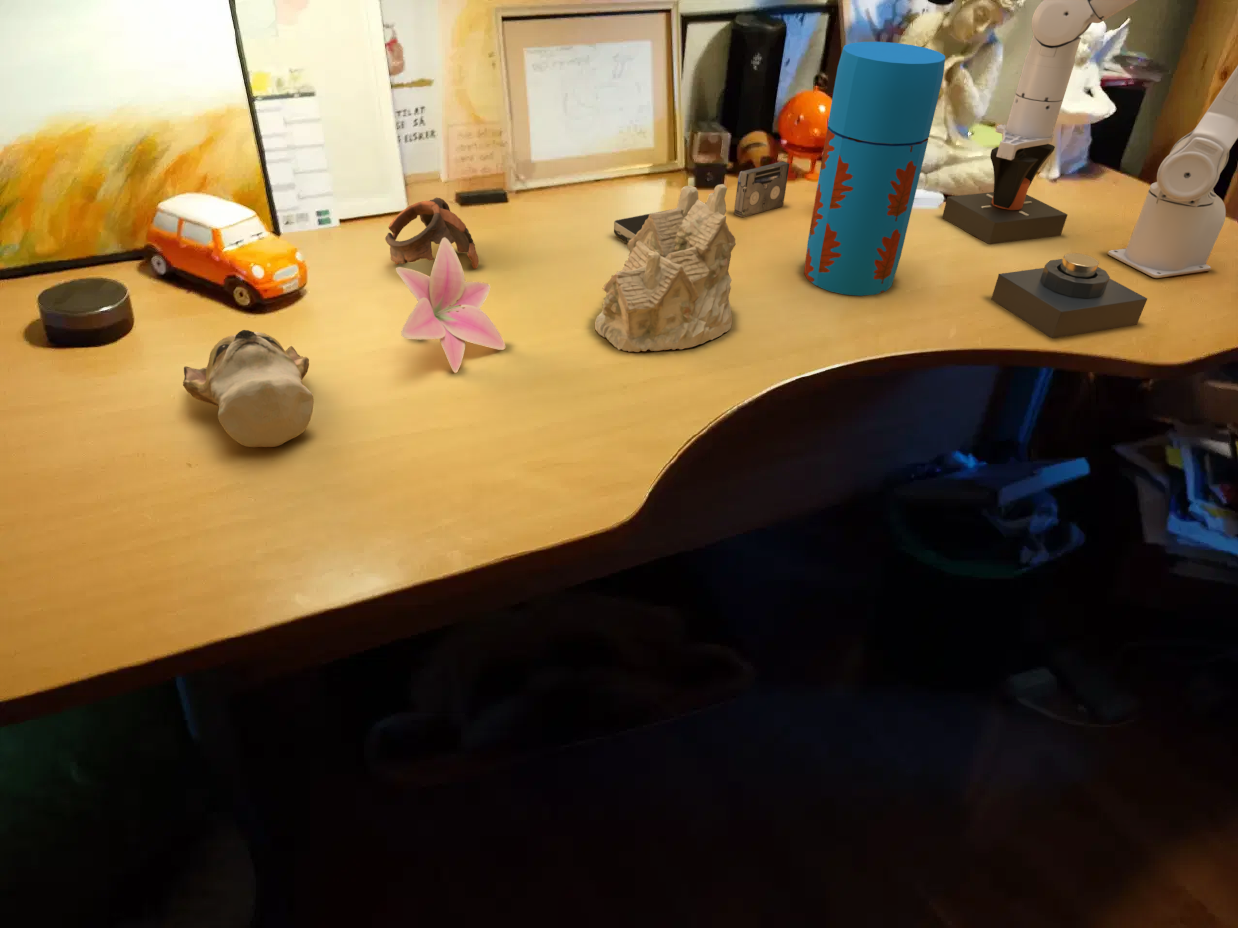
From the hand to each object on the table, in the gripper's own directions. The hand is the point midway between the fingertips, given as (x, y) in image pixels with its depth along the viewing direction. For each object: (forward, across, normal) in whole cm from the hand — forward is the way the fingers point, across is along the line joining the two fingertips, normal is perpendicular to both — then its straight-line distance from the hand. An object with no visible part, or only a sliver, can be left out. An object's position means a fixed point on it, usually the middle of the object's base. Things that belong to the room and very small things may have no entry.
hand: (1007, 201), depth 122 cm
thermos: (+4, +30, -7) cm, 32 cm away
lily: (+4, +76, -27) cm, 80 cm away
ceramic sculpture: (+4, +95, -30) cm, 99 cm away
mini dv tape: (+4, +19, -27) cm, 33 cm away
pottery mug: (+4, +62, -45) cm, 77 cm away
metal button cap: (-1, +21, +15) cm, 26 cm away
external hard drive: (+4, +37, -30) cm, 48 cm away
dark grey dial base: (+3, 0, 0) cm, 3 cm away
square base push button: (+3, +22, +15) cm, 27 cm away
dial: (0, 0, 0) cm, 0 cm away
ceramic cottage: (+4, +55, -17) cm, 57 cm away
